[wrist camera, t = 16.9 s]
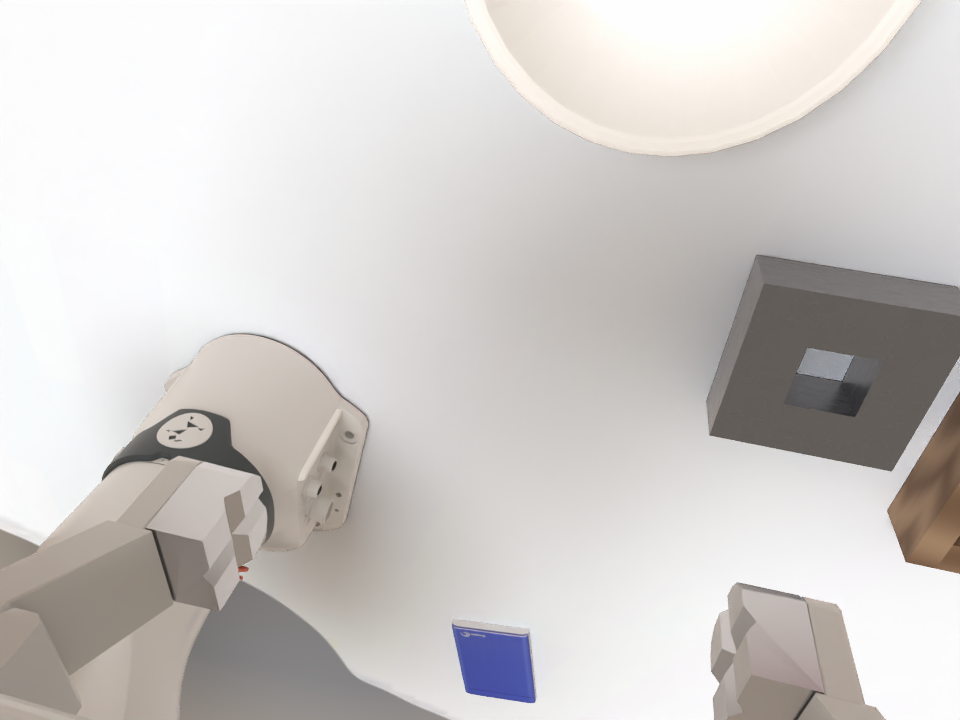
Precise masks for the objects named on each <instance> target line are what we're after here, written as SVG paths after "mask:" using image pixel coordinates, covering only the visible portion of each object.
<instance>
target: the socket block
mask: <svg viewBox="0 0 960 720" xmlns="http://www.w3.org/2000/svg"><path fill="white" fill-rule="evenodd" d="M807 347H809V348H814V349H820V350H826V351H831V352H837V353H843V354H848V355H854V358H853V360H852V362H851V364H850V366H849V369H848V371H847V373H846V375H845V377H844V379H843V381H842V382H840V381H835V380H829V379H824V378H818V377H813V376H807V375H802V374H796V373H797V370H798V368H799V366H800V363H801V361H802V359H803V356H804V354H805V352H806V349H807ZM959 356H960V290H959V289H958V288H957V287H954V286H948V285H942V284H936V283H929V282H923V281H917V280H911V279H904V278H898V277H892V276H886V275H879V274H873V273H867V272H861V271H855V270H848V269H842V268H836V267H830V266H823V265H817V264H811V263H805V262H798V261H792V260H786V259H780V258H774V257H767V256H761V255H756V258H755V261H754V264H753V267H752V270H751V273H750V275H749V278H748V281H747V284H746V287H745V290H744V293H743V296H742V299H741V302H740V305H739V308H738V311H737V313H736V316H735V319H734V322H733V325H732V328H731V331H730V334H729V337H728V340H727V343H726V346H725V349H724V351H723V354H722V357H721V360H720V363H719V366H718V369H717V372H716V375H715V378H714V381H713V384H712V387H711V389H710V392H709V395H708V398H707V412H708V424H709V435H710V436H715V437H721V438H726V439H731V440H736V441H741V442H746V443H751V444H756V445H761V446H766V447H771V448H776V449H781V450H786V451H791V452H796V453H802V454H807V455H812V456H817V457H822V458H827V459H832V460H837V461H842V462H847V463H852V464H857V465H862V466H867V467H872V468H877V469H883V470H888V471H892V470H893V469H894V467H895V465H896V463H897V462H898V460H899V458H900V457H901V455H902V453H903V452H904V450H905V448H906V446H907V445H908V443H909V441H910V440H911V438H912V436H913V435H914V433H915V431H916V429H917V428H918V426H919V424H920V423H921V421H922V419H923V418H924V416H925V414H926V412H927V411H928V409H929V407H930V406H931V404H932V402H933V401H934V399H935V397H936V395H937V394H938V392H939V390H940V389H941V387H942V385H943V384H944V382H945V380H946V378H947V377H948V375H949V373H950V372H951V370H952V368H953V367H954V365H955V363H956V361H957V360H958V358H959Z"/></svg>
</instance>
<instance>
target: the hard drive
mask: <svg viewBox="0 0 960 720" xmlns="http://www.w3.org/2000/svg"><path fill="white" fill-rule="evenodd" d="M452 628H453V633H454V637H455V642H456V647H457V652H458V656H459V661H460V666H461V671H462V676H463V680H464V685H465V690H466V692H467V693H470V694H475V695H481V696H487V697H494V698H500V699H507V700H513V701H520V702H526V703H534V702H535V700H536V689H535V679H534V670H533V661H532V652H531V642H530V633H529V629H528V628H520V627H512V626H504V625H497V624H489V623H481V622H473V621H466V620H458V619H454V620H453V624H452Z"/></svg>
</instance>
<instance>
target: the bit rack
mask: <svg viewBox="0 0 960 720" xmlns="http://www.w3.org/2000/svg"><path fill="white" fill-rule="evenodd" d="M888 514H889V517H890V520H891V522H892V525H893V528H894V531H895V533H896V536H897V539H898V542H899V544H900V547H901V550H902V553H903V555H904V558H905V561H906V562H908V563H913V564H917V565H922V566H927V567H931V568H936V569H941V570H945V571H950V572H955V573H959V574H960V393H959V394H958V396H957V398H956V399H955V401H954V403H953V404H952V406H951V408H950V409H949V411H948V412H947V414H946V416H945V417H944V419H943V421H942V422H941V424H940V426H939V427H938V429H937V430H936V432H935V434H934V435H933V437H932V439H931V440H930V442H929V444H928V445H927V447H926V448H925V450H924V452H923V453H922V455H921V457H920V458H919V460H918V461H917V463H916V465H915V466H914V468H913V470H912V471H911V473H910V475H909V476H908V478H907V479H906V481H905V483H904V484H903V486H902V488H901V489H900V491H899V493H898V494H897V496H896V497H895V499H894V501H893V502H892V504H891V506H890V507H889V509H888Z"/></svg>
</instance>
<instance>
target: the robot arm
mask: <svg viewBox="0 0 960 720" xmlns="http://www.w3.org/2000/svg"><path fill="white" fill-rule="evenodd" d="M165 389H166V392H167V393H166V394H165V395H164V396H163V398H162V399H161V400H160V401H159V403H158V404H157V405H156V406H155V408H154V409H153V410H152V411H151V413H150V414H149V415H148V416H147V418H146V419H145V420H144V422H143V423H142V424H141V425H140V427H139V428H138V429H137V431H136V432H135V434H134V436H133V440H132V441H131V442H130V443H129V444H128V445H127V446H126V447H123V448H122V449H121V450H120V451H119V453H118V454H117V455H116V456H115V457H114V459H113V461H112V463H111V464H110V465H109V466H108V467H107V469H106V470H105V472H104V474H103V477H102V482H101V483H100V484H99V485H98V486H97V487H96V488H95V489H94V490H93V491H92V492H91V493H90V494H89V495H88V496H87V497H86V498H85V499H84V501H83V502H82V503H81V504H80V505H79V506H78V507H77V508H76V509H75V510H74V511H73V512H72V513H71V514H70V515H69V516H68V517H67V518H66V519H65V520H64V521H63V522H62V523H61V524H60V526H59V527H58V528H57V529H56V530H55V531H54V532H53V533H52V534H51V535H50V536H49V537H48V538H47V539H46V540H45V541H44V542H43V543H42V544H41V546H40V547H39V549H38V550H37V552H36V553H35V554H33V555H31V556H29V557H26V558H24V559H22V560H20V561H18V562H15V563H13V564H11V565H9V566H7V567H5V568H2V569H0V720H179V706H180V695H181V687H182V682H183V675H184V671H185V667H186V664H187V661H188V657H189V654H190V651H191V649H192V646H193V644H194V642H195V640H196V637H197V636H198V634H199V631H200V629H201V627H202V626H203V623H204V622H205V620H206V617H207V615H208V614H209V612H210V610H215V611H219V612H220V611H221V609H222V607H223V606H224V604H225V603H226V601H227V599H228V598H229V596H230V595H231V593H232V592H233V590H234V588H235V587H236V585H237V584H238V582H239V580H240V579H241V580H242V579H243V577H242V576H240V575H239V572H244V571H248V568H247V567H245V566H242V565H243V564H245V563H247V562H249V561H250V560H252V559H253V558H254V556H255V555H256V553H257V551H258V550H263V551H278V552H281V551H289V550H293V549H296V548H298V547H300V546H301V545H303V544H304V542H305V541H306V540H307V538H308V537H309V535H310V533H311V532H312V531H327V530H333V529H337V528H340V527H341V526H342V525H343V523H344V522H345V520H346V518H347V514H348V510H349V506H350V501H351V497H352V493H353V488H354V484H355V480H356V475H357V471H358V467H359V462H360V458H361V454H362V449H363V445H364V441H365V437H366V432H367V428H368V421H367V418H366V417H365V416H364V414H363V413H362V412H360V411H359V410H358V409H357V408H356V407H354V406H353V405H351V404H350V403H349V402H347V401H346V400H344V399H343V398H342V397H341V396H340V395H339V394H338V393H337V392H336V391H335V389H334V388H333V387H332V385H331V384H330V383H329V381H328V380H327V379H326V377H325V376H324V375H323V374H322V373H321V372H320V371H319V370H318V369H317V368H316V367H315V366H314V365H313V364H312V363H311V362H310V361H309V360H307V359H306V358H305V357H303V356H302V355H300V354H299V353H297V352H296V351H294V350H293V349H291V348H289V347H287V346H285V345H283V344H281V343H278V342H276V341H273V340H270V339H267V338H264V337H260V336H255V335H247V334H233V335H227V336H222V337H219V338H216V339H214V340H212V341H210V342H209V343H207V344H206V345H205V346H204V347H203V348H202V349H201V350H200V351H199V352H198V353H197V355H196V357H195V358H194V360H193V361H192V363H191V364H190V365H189V366H188V367H185V368H183V369H180V370H178V371H176V372H174V373H173V374H172V375H171V376H170V377H169V379H168V380H167V381H166V383H165ZM350 432H352V433H353V434H352V433H350ZM728 607H729V609H728V610H726V611H723V612H721V613H720V614H719V616H718V619H717V621H716V624H715V626H714V631H713V636H712V641H711V672H712V673H713V675H714V676H715V677H716V679H717V680H718V682H719V683H720V685H719V687H718V689H717V691H716V693H715V695H714V697H713V708H714V720H886V719H885V718H884V717H883V716H882V714H881V713H880V712H879V711H878V710H877V709H876V707H872V706H869V705H865V702H864V698H863V694H862V690H861V687H860V683H859V679H858V675H857V671H856V667H855V663H854V659H853V655H852V651H851V647H850V643H849V639H848V635H847V631H846V628H845V624H844V620H843V616H842V612H841V610H840V609H839V607H838V606H837V604H832V603H828V602H823V601H819V600H814V599H810V598H805V597H800V596H799V595H794V594H790V593H785V592H780V591H775V590H771V589H766V588H761V587H757V586H752V585H747V584H743V583H738V582H737V583H736V584H735V585H733V586H732V588H731V590H730V592H729V594H728Z"/></svg>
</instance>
